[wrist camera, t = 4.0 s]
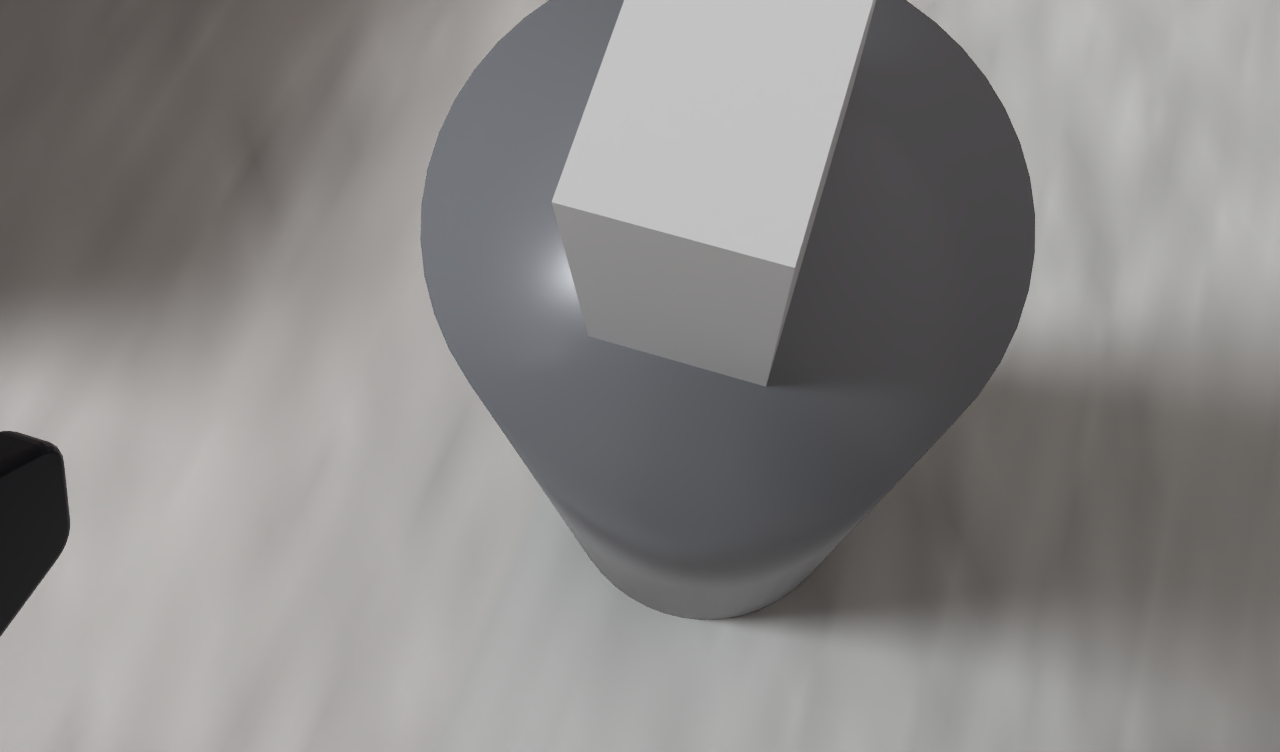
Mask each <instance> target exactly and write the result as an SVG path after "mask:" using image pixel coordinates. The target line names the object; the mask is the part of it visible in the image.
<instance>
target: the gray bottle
mask: <svg viewBox="0 0 1280 752" xmlns="http://www.w3.org/2000/svg"><path fill="white" fill-rule="evenodd" d="M421 247H422V257H423V266H424V275H425V280H426V284H427V287H428V291H429V295H430V299H431V303H432V307H433V311H434V314H435V316H436V319H437V321H438V324H439V326H440V329H441V331H442V333H443V336H444V338H445V341H446V343H447V345H448V348H449V350H450V351H451V353H452V355H453V356H454V358H455V360H456V361H457V363H458V365H459V367H460V368H461V370H462V372H463V373H464V375H465V377H466V378H467V380H468V382H469V383H470V385H471V386H472V388H473V389H474V390H475V392H476V393H477V395H478V396H479V398H480V399H481V401H482V402H483V403H484V405H485V406H486V408H487V409H488V411H489V412H490V414H491V415H492V417H493V418H494V419H495V421H496V422H497V424H498V425H499V427H500V428H501V430H502V431H503V433H504V434H505V435H506V437H507V438H508V440H509V441H510V443H511V444H512V446H513V447H514V449H515V450H516V451H517V453H518V454H519V456H520V457H521V459H522V460H523V462H524V463H525V465H526V466H527V467H528V469H529V470H530V472H531V473H532V475H533V476H534V478H535V479H536V480H537V482H538V483H539V485H540V486H541V488H542V489H543V491H544V492H545V494H546V495H547V496H548V498H549V499H550V501H551V502H552V504H553V505H554V507H555V508H556V510H557V511H558V512H559V514H560V515H561V517H562V518H563V520H564V521H565V523H566V524H567V526H568V527H569V528H570V530H571V531H572V533H573V534H574V536H575V537H576V539H577V540H578V542H579V543H580V544H581V546H582V547H583V549H584V550H585V552H586V553H587V555H588V556H589V557H590V559H591V560H592V561H593V563H594V564H595V565H596V567H597V568H598V569H599V570H600V572H601V573H602V574H603V575H604V576H605V577H606V578H607V579H608V580H609V581H610V582H611V583H612V584H613V585H615V586H616V587H617V588H618V589H620V590H621V591H622V592H624V593H625V594H626V595H628V596H629V597H631V598H632V599H634V600H636V601H638V602H640V603H642V604H643V605H645V606H647V607H650V608H652V609H655V610H657V611H660V612H663V613H666V614H670V615H674V616H678V617H682V618H691V619H700V620H706V619H724V618H730V617H736V616H741V615H744V614H747V613H751V612H754V611H757V610H759V609H761V608H764V607H766V606H768V605H770V604H772V603H774V602H776V601H778V600H779V599H781V598H782V597H784V596H785V595H787V594H789V593H790V592H791V591H792V590H794V589H795V588H796V587H797V586H798V585H800V584H801V583H802V582H803V581H804V580H805V579H806V578H807V577H808V576H809V575H810V574H811V573H812V572H813V571H814V570H815V569H816V568H817V566H818V565H819V564H820V563H821V562H822V561H823V560H824V559H825V558H826V557H827V556H828V555H829V554H830V553H831V552H832V551H833V550H834V549H835V548H836V546H837V545H838V544H839V543H840V542H841V541H842V540H843V539H844V538H845V537H846V536H847V535H848V534H849V533H850V532H851V531H852V530H853V529H854V527H855V526H856V525H857V524H858V523H859V522H860V521H861V520H862V519H863V518H864V517H865V516H866V515H867V514H868V513H869V512H870V511H871V510H872V509H873V507H874V506H875V505H876V504H877V503H878V502H879V501H880V500H881V499H882V498H883V497H884V496H885V495H886V494H887V493H888V492H889V491H890V490H891V488H892V487H893V486H894V485H895V484H896V483H897V482H898V481H899V480H900V479H901V478H902V477H903V476H904V475H905V474H906V473H907V472H908V471H909V469H910V468H911V467H912V466H913V465H914V464H915V463H916V462H917V461H918V460H919V459H920V458H921V457H922V456H923V455H924V454H925V453H926V452H927V451H928V449H929V448H930V447H931V446H932V445H933V444H934V443H935V442H936V441H937V440H938V439H939V438H940V437H941V436H942V435H943V434H944V433H945V432H946V430H947V429H948V428H949V427H950V426H951V425H952V424H953V423H954V422H955V421H956V420H957V419H958V417H959V416H960V415H961V414H962V413H963V412H964V411H965V410H966V409H967V407H968V406H969V405H970V404H971V403H972V402H973V401H974V400H975V399H976V397H977V396H978V395H979V394H980V392H981V391H982V389H983V388H984V386H985V385H986V383H987V382H988V380H989V379H990V377H991V376H992V374H993V373H994V371H995V370H996V368H997V367H998V365H999V364H1000V362H1001V360H1002V358H1003V356H1004V354H1005V352H1006V350H1007V347H1008V345H1009V343H1010V341H1011V339H1012V337H1013V335H1014V333H1015V331H1016V329H1017V326H1018V323H1019V320H1020V317H1021V313H1022V310H1023V307H1024V304H1025V300H1026V297H1027V294H1028V291H1029V285H1030V279H1031V272H1032V266H1033V259H1034V253H1035V212H1034V204H1033V197H1032V189H1031V182H1030V176H1029V173H1028V169H1027V166H1026V162H1025V159H1024V155H1023V152H1022V148H1021V145H1020V142H1019V139H1018V137H1017V135H1016V132H1015V130H1014V128H1013V126H1012V123H1011V121H1010V119H1009V116H1008V114H1007V112H1006V110H1005V108H1004V106H1003V104H1002V103H1001V101H1000V99H999V98H998V96H997V95H996V93H995V91H994V90H993V88H992V86H991V85H990V83H989V81H988V80H987V78H986V77H985V75H984V74H983V73H982V72H981V70H980V69H979V68H978V67H977V66H976V64H975V63H974V62H973V61H972V59H971V58H970V57H969V56H968V54H967V53H966V52H965V51H964V49H963V48H962V47H961V46H960V45H959V44H958V43H957V42H956V41H954V40H953V39H952V38H951V37H950V36H949V35H948V34H947V33H946V32H945V31H944V30H943V29H942V28H941V27H940V26H939V25H938V24H937V23H936V22H934V21H933V20H932V19H930V18H929V17H928V16H926V15H925V14H924V13H922V12H921V11H920V10H918V9H917V8H916V7H914V6H913V5H912V4H910V3H909V2H908V1H906V0H549V1H548V2H546V3H545V4H543V5H542V6H541V7H539V8H538V9H536V10H535V11H534V12H532V13H531V14H529V15H528V16H527V17H525V18H524V19H523V20H522V21H521V22H520V23H518V24H517V25H516V26H515V27H514V28H513V29H512V30H511V31H510V32H509V33H508V34H506V35H505V36H504V37H503V38H502V39H501V40H500V41H499V42H498V43H497V44H496V45H495V46H494V47H493V49H492V50H491V51H490V52H489V53H488V55H487V56H486V57H485V58H484V59H483V60H482V62H481V63H480V64H479V65H478V66H477V68H476V69H475V70H474V71H473V73H472V74H471V76H470V77H469V79H468V80H467V82H466V84H465V85H464V87H463V88H462V90H461V91H460V93H459V94H458V96H457V97H456V99H455V101H454V103H453V105H452V107H451V109H450V111H449V113H448V115H447V117H446V119H445V122H444V124H443V126H442V128H441V130H440V132H439V135H438V138H437V141H436V144H435V147H434V150H433V154H432V157H431V160H430V163H429V166H428V170H427V176H426V182H425V188H424V194H423V199H422V213H421Z"/></svg>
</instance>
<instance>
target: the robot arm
mask: <svg viewBox="0 0 1280 752" xmlns="http://www.w3.org/2000/svg"><path fill="white" fill-rule="evenodd" d="M69 530H70V515H69V506H68V496H67V487H66V477H65V468H64V460H63V456H62V454H61V452H60V451H59V449H58V448H57V446H55V445H53V444H52V443H50V442H47V441H44V440H41V439H38V438H34V437H31V436H28V435H25V434H21V433H18V432H12V431H2V432H0V636H1V635H2V634H3V632H4V631H5V630H6V628H7V627H8V626H9V624H10V623H11V621H12V620H13V619H14V617H15V616H16V615H17V613H18V612H19V611H20V609H21V608H22V606H23V605H24V604H25V602H26V601H27V600H28V598H29V597H30V596H31V594H32V593H33V591H34V590H35V589H36V587H37V586H38V585H39V583H40V582H41V581H42V579H43V578H44V577H45V575H46V574H47V572H48V571H49V570H50V568H51V567H52V566H53V564H54V563H55V562H56V560H57V559H58V557H59V556H60V554H61V553H62V551H63V549H64V547H65V545H66V542H67V539H68V536H69Z"/></svg>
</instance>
